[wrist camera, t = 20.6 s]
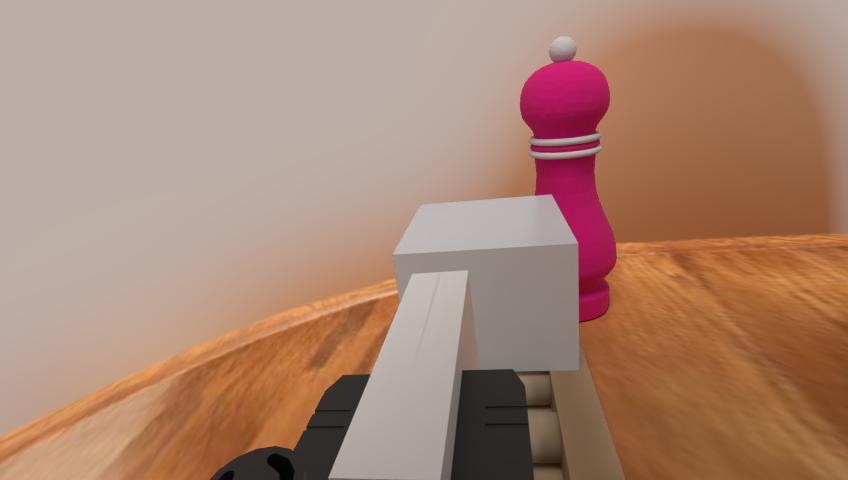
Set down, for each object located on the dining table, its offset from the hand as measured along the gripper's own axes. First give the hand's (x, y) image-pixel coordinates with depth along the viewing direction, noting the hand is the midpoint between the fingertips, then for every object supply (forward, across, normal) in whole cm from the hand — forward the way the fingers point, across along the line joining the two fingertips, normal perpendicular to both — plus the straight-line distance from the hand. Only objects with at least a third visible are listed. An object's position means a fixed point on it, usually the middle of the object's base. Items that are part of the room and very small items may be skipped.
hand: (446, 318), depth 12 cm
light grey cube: (+15, 0, -9) cm, 17 cm away
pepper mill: (+23, +6, -12) cm, 27 cm away
